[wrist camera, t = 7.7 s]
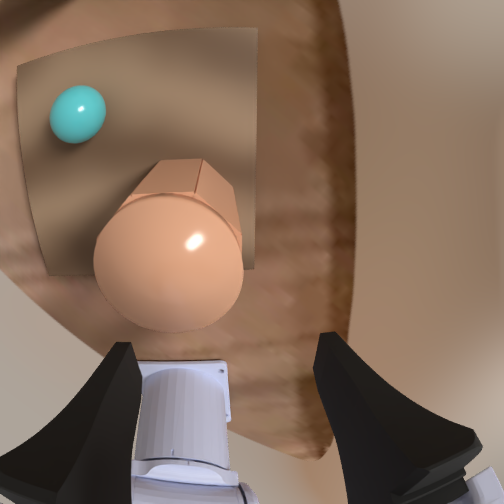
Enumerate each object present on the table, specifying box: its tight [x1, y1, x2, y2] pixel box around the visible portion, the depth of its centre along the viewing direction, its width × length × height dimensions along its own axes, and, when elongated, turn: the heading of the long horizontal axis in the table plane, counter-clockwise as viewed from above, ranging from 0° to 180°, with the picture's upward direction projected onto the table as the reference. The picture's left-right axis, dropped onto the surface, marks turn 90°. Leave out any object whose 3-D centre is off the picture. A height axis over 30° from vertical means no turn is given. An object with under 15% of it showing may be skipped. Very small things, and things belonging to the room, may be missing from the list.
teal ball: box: [49, 85, 106, 144], centre depth 12 cm, size 3×3×3 cm
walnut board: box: [17, 27, 258, 276], centre depth 16 cm, size 14×14×1 cm
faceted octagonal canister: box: [93, 159, 243, 333], centre depth 14 cm, size 6×6×7 cm
